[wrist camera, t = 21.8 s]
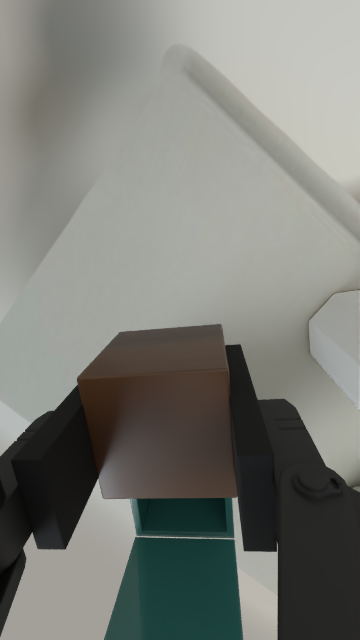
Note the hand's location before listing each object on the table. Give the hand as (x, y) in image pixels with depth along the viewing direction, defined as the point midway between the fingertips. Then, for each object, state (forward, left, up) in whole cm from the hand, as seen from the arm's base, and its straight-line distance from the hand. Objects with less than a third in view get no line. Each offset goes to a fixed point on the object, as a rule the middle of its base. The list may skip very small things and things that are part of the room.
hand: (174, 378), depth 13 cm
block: (0, 0, 0) cm, 0 cm away
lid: (+24, -11, -7) cm, 27 cm away
